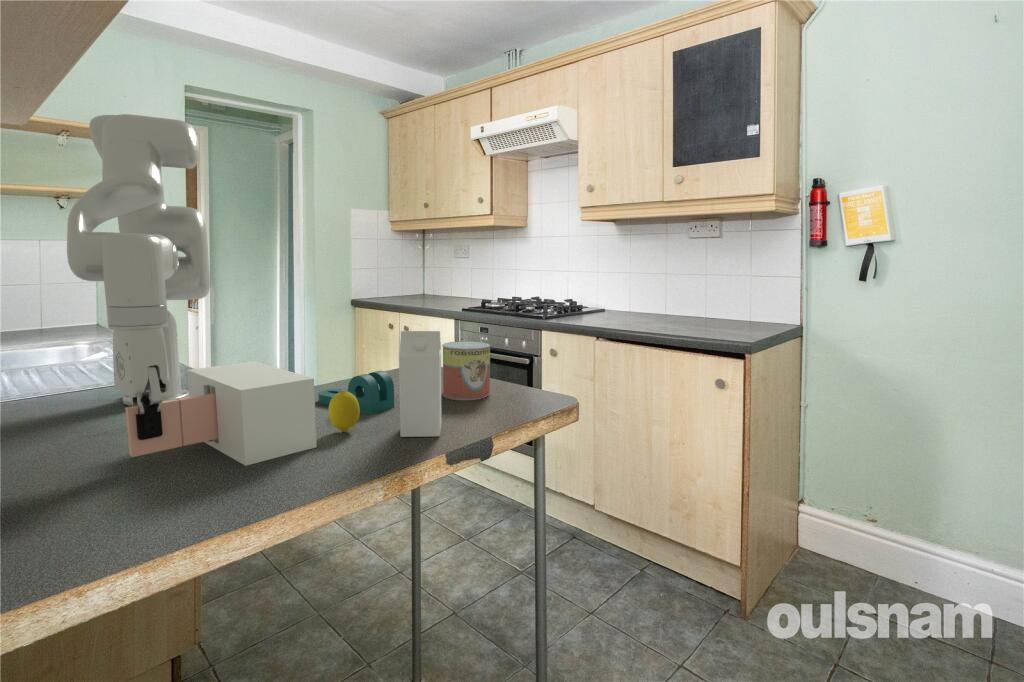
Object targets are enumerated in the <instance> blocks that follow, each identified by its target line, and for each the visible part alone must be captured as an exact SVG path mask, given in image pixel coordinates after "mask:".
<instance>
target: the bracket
mask: <svg viewBox="0 0 1024 682" xmlns="http://www.w3.org/2000/svg"><path fill="white" fill-rule="evenodd" d="M342 390H346V391H347V392H350V393H352V394H353V395H354V396H355V397H356V398H357V400H358V403H359V408H360V413H365V414H368V415H369V414H370V415H374V414H378V413H381V412H383V411H386V410H390V409H393V408H395V384H394V381H393V379H392V377H391V375H390V374H389V373H387V372H386V371H385V370H375V371H372V372H369V373H365V374H359V375H356V376H353V377H352V378H351V379H350V380H349V382H348V385H347V389H346V388H329V389H323V390H320V391H319V392H318V403H319V404H320V405H325V406H329V404H330V401H331V399H332V397H333V396H334V395H336V394H337V393H339V392H341V391H342Z"/></svg>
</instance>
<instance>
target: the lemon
mask: <svg viewBox="0 0 1024 682" xmlns="http://www.w3.org/2000/svg"><path fill="white" fill-rule="evenodd" d="M360 413H361V412H360V408H359V403H358V400H357V398H356V397H355V396H354V395H353V394H352V393H350V392H347V391H346V390H342V391H341V392H339V393H337V394H336V395H334V396H333V397H332V399H331V401H330V404H329V405H328V418H329V421H330V423H331V425H332V426H333V427H335V428H337V429H339V430H341V432H342V433H343V432H344V433H346V432H348V431H349V429H351V428H353V427H354V426H355V425H356V424H357V423H358V421H359V418H360Z"/></svg>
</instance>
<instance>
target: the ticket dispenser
mask: <svg viewBox="0 0 1024 682" xmlns="http://www.w3.org/2000/svg"><path fill="white" fill-rule="evenodd" d="M186 371H187V372H186V373H187V384H188V387H187V388H188V391H189V397H193V396H199V395H205V394H211V393H216V408H217V423H218V439H213V440H209V441H204V442H203V443H205V444H206V445H208V446H211V447H212V448H214V450H215V449H216V450H217V451H219V452H220V453H223V454H224V455H226V456H228V457H230V458H231V459H233V460H234V461H236V462H238V463H240V464H241V465H243V466H245V467H247V466H251V465H254V464H258V463H261V462H265V461H269V460H273V459H276V458H280V457H286V456H288V455H292V454H296V453H300V452H303V451H308V450H311V449H314V448H317V446H318V445H317V423H316V422H317V421H316V399H315V378H314V377H310V376H307V375H303V374H301V373H297V372H292V371H290V370H287V369H284V368H279V367H276V366H272V365H270V364H266V363H263V362H259V361H256V360H255V361H254V360H253V361H246V362H240V363H237V362H236V363H231V364H223V365H221V364H220V365H215V366H207V367H206V366H205V367H199V368H191V369H186Z"/></svg>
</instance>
